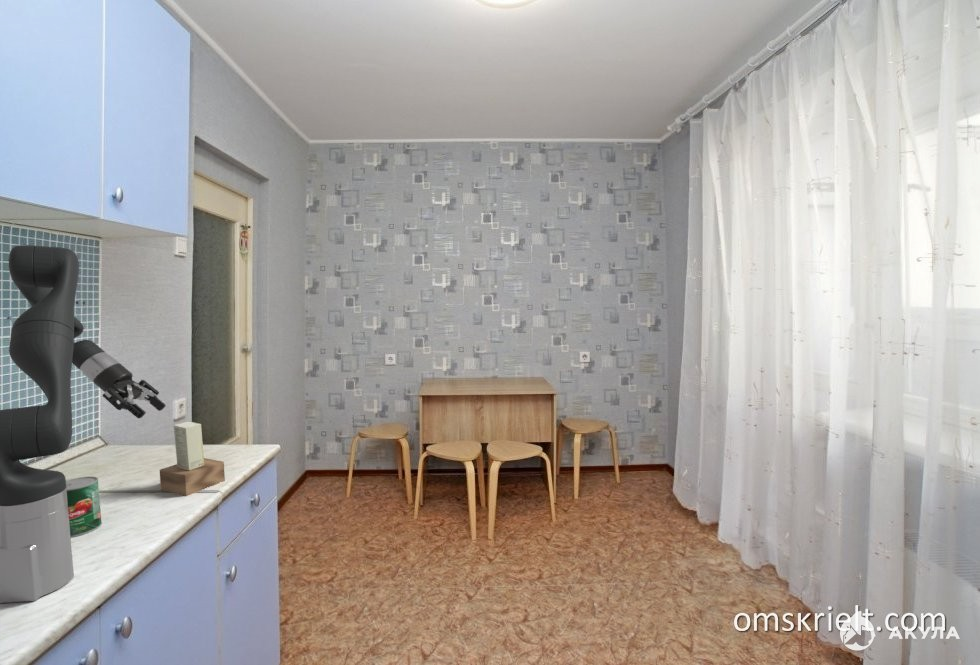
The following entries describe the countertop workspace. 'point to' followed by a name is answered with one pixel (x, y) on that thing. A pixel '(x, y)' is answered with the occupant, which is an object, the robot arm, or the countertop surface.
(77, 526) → the canned tomato
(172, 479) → the walnut block
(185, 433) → the skincare box
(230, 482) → the countertop surface
